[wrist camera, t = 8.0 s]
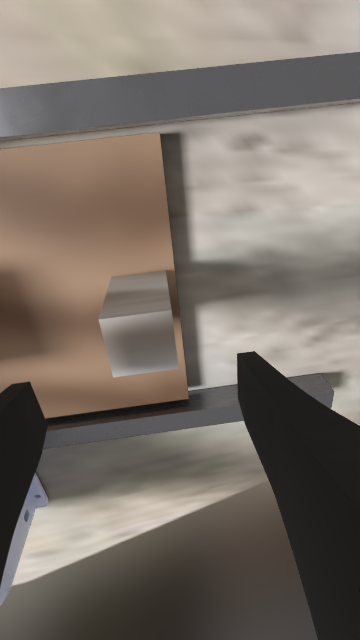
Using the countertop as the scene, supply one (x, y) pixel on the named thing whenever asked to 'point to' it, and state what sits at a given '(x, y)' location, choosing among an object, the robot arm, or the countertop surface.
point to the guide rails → (166, 107)
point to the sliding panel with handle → (89, 276)
